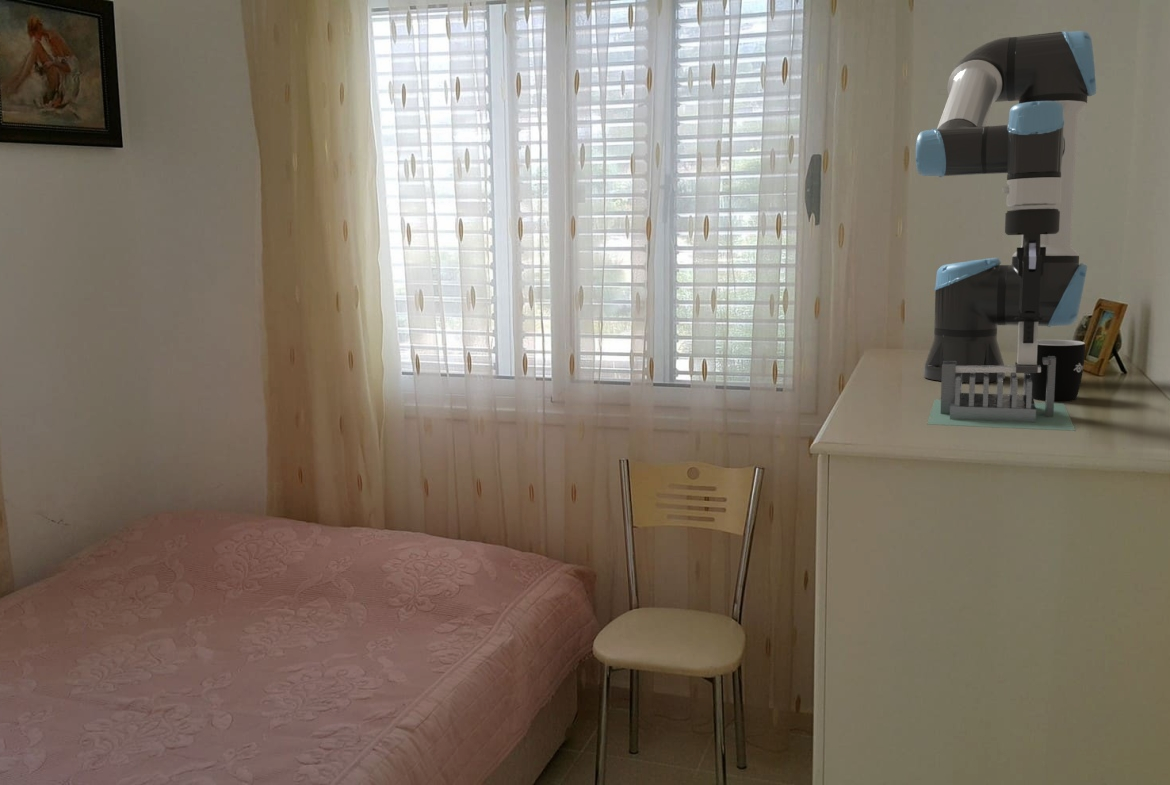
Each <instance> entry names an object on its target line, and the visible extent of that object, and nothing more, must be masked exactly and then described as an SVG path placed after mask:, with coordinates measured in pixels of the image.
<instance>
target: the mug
mask: <svg viewBox="0 0 1170 785" xmlns="http://www.w3.org/2000/svg"><path fill="white" fill-rule="evenodd" d="M1085 355H1086V342H1084V341H1081V340H1069V339H1068V340H1067V339H1038V345H1037V365H1040V366H1041V373H1030V376H1031V379H1032V396H1033V400H1034V401H1042V402H1046V383H1047V365H1043V362H1042V361H1043V357H1048V356H1055V357H1056V370H1055V391H1054V403H1059V402H1060V403H1061V402H1064V403H1065V402H1073V401H1076V399H1077V397H1078V395H1079V392H1080V388H1081V385H1082V384H1081V383H1082V378H1083V373H1084V367H1085V357H1086V356H1085Z"/></svg>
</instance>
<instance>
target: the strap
mask: <svg viewBox="0 0 1170 785" xmlns="http://www.w3.org/2000/svg"><path fill="white" fill-rule="evenodd" d="M956 373H1005V374H1007V373H1009V374H1011V373H1016V374H1024V373H1041V366H1040V365H1021V364H1017V362H1016V361H1015V364H1014V365H1013V364H1012V365H1005V364H1004V365H991V366H956Z"/></svg>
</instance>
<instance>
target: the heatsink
mask: <svg viewBox="0 0 1170 785" xmlns="http://www.w3.org/2000/svg"><path fill="white" fill-rule="evenodd" d="M956 362H957V361H943V364H942V381H940V382H941V383H940V384H941V385H940V386H941V387H940V390H941V391H940V399H941V414H950V419H957V420H981V421H1006V422H1030V423H1035V422H1036V407H1035V404H1034V403H1035V399H1033V396H1032V379H1031V376H1030V373H1023V394H1018V383H1019V382H1018V377H1017V373H1010V381H1009V382H1010V384H1009V394H1007V393H1003V392H1004V379H1003V375H1002V373H997V381H996V391H995V392H996V393H989V383H990V382H989V373H984V382H983V385H982V386H983V387H982V388H983V389H982V393H976V382H975V373H970V382H968V383H969V386H968V388H969V389H968V392H963V391H962V390H963V389H962V388H963V382H962V373H957V375H956ZM1042 362H1043V365H1047V383H1046V401H1045V403H1046V404H1045V415H1046V417H1053V413H1054V403H1055V402H1054V391H1055V370H1056V357H1055V356H1048V357H1043V361H1042Z"/></svg>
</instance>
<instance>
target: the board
mask: <svg viewBox="0 0 1170 785" xmlns="http://www.w3.org/2000/svg"><path fill="white" fill-rule="evenodd" d="M932 404H933V405H932V407H931V410H930V413H929V417H928V420H927V425H930V426H933V425H935V426H956V427H979V428H998V429H999V428H1001V429H1002V428H1003V429H1022V430H1023V429H1025V430H1027V429H1028V430H1044V431H1045V430H1047V431H1070V432H1071V431H1072V432H1073V431H1074V432H1076V429H1075V427H1074V423H1073V422H1072V419H1071V417H1070V415H1069V413H1068V411H1067V408H1066V406H1065V403H1061V402H1060V403H1059V402H1054V413H1053V417H1046V415H1045V404H1046V402H1034V404H1035V407H1036V422H1035V423H1030V422H1006V421H981V420H957V419H950V414H941V398H939V399H938V398H934V400H933V403H932Z"/></svg>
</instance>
